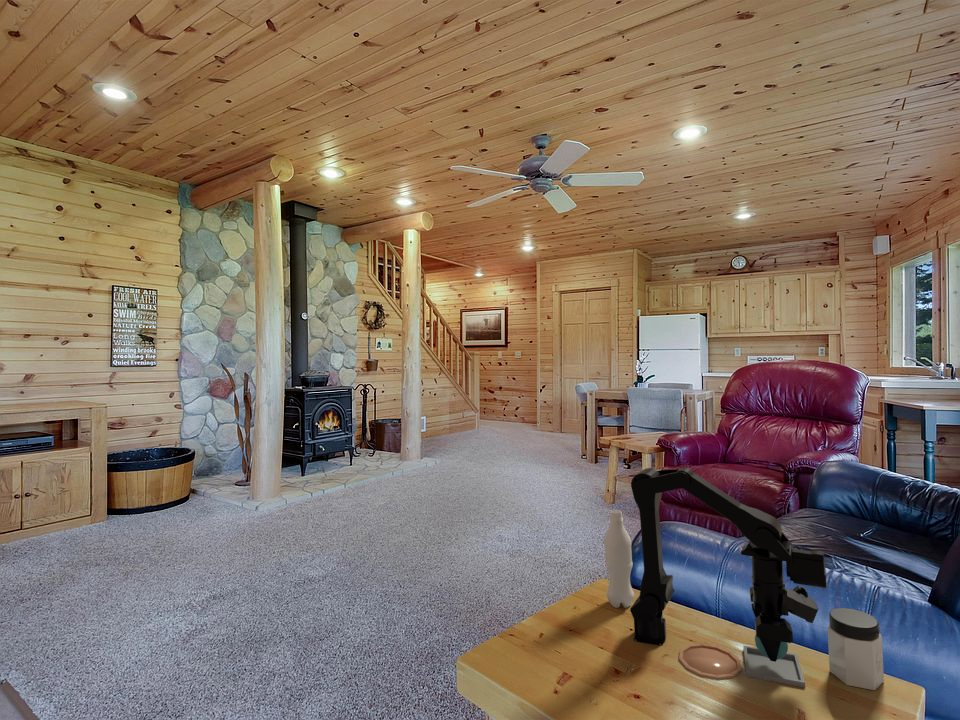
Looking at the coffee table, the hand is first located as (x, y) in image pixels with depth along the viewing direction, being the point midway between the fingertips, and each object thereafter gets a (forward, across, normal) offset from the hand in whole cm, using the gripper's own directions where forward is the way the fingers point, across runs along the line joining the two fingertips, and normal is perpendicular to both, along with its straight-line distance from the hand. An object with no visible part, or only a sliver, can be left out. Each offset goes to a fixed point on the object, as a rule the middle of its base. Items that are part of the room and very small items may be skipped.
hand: (771, 652), depth 106 cm
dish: (+4, -2, +12) cm, 13 cm away
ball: (+1, 0, 0) cm, 1 cm away
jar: (+4, +3, -15) cm, 16 cm away
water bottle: (+4, +19, +34) cm, 39 cm away
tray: (+4, 0, 0) cm, 4 cm away
